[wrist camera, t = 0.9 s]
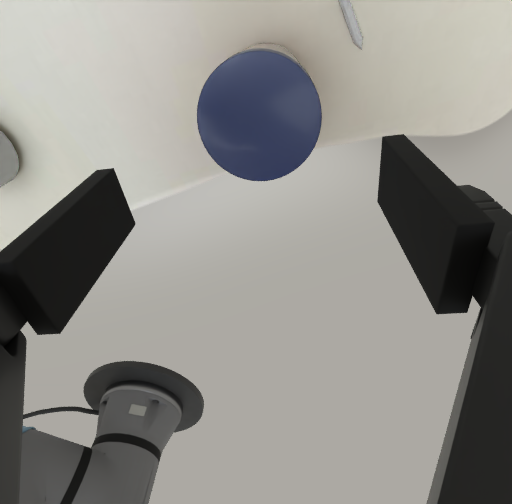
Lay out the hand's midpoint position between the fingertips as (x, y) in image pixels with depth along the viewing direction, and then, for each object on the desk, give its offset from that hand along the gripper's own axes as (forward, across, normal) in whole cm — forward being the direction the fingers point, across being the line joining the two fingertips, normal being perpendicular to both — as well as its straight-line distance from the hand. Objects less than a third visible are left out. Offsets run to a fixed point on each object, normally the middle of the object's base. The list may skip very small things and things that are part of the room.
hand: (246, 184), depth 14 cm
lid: (+10, 0, 0) cm, 10 cm away
